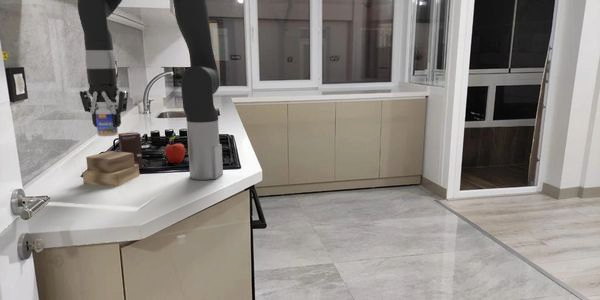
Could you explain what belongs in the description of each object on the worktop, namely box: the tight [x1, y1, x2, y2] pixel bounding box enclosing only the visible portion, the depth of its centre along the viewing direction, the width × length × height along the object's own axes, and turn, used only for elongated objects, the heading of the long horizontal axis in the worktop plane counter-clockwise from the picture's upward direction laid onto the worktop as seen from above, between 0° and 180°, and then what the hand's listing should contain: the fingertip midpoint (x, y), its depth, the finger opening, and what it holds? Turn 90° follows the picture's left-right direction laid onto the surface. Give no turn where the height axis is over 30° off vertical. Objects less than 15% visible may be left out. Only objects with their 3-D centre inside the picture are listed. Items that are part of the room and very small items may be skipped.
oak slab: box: [82, 164, 141, 187], centre depth 124 cm, size 11×11×4 cm
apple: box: [164, 135, 187, 164], centre depth 143 cm, size 8×7×10 cm
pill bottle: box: [96, 102, 119, 137], centre depth 120 cm, size 5×5×10 cm
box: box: [117, 131, 143, 169], centre depth 134 cm, size 6×4×12 cm
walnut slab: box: [85, 150, 135, 173], centre depth 123 cm, size 9×9×4 cm
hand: (107, 126), depth 121 cm, fingers closed on pill bottle, 5 cm apart
